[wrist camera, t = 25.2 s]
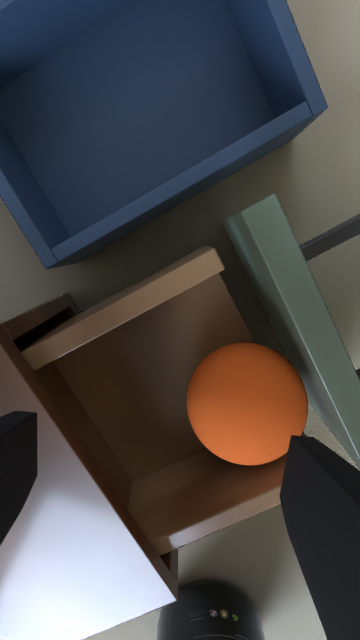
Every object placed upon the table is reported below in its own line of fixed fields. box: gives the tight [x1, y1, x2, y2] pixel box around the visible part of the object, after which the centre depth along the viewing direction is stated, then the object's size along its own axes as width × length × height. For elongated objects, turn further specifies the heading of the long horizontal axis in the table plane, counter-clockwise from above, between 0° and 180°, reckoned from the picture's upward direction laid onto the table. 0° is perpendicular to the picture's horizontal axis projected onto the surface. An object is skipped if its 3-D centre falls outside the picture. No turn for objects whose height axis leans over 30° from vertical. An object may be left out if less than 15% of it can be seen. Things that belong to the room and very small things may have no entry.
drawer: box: [18, 193, 360, 556], centre depth 15 cm, size 17×11×6 cm, turn 118°
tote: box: [0, 0, 328, 269], centre depth 14 cm, size 12×9×4 cm
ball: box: [187, 343, 308, 465], centre depth 14 cm, size 5×5×5 cm
